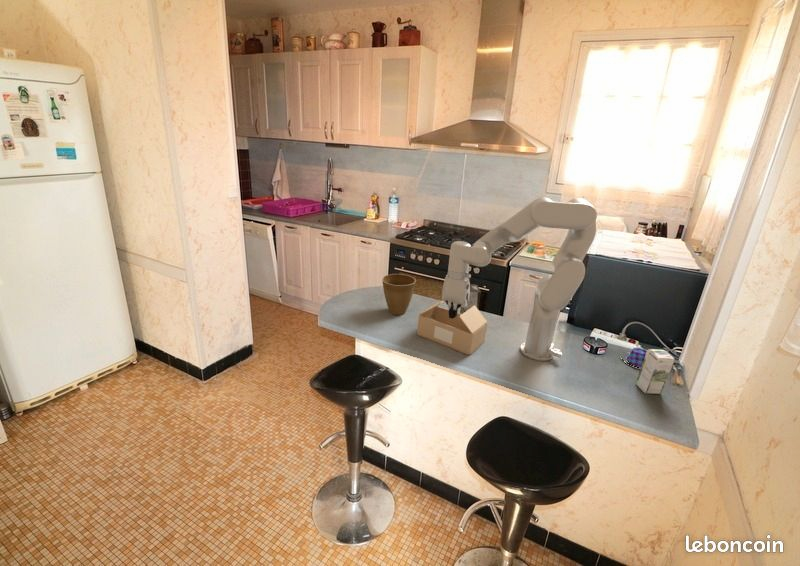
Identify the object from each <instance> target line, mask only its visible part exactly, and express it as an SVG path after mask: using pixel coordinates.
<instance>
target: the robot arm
mask: <svg viewBox="0 0 800 566" xmlns="http://www.w3.org/2000/svg"><path fill="white" fill-rule="evenodd" d="M597 218H598V213H597V209H596V208H595V207H594V205H593V204H591V203H590V202H589V201H588V200H586V199H584V198H581V197H575V198H572V199H570V200H568V201H567V202H563V201H561V202H560V201H553V200H552V199H551V198H548V197H546V196H545V197H544V196H541V197H537V198H536V199H534V200H533V201H531V202H529V204H527V205H525V207H523V208H522V209H520V210H519V211H518V212H516V214H514V215H512V216H511V217H510V218H508V219H507V220H506V221H504V222H503V223H501V224H499V225H498V226H496V227H494V228H493V229H491V230H489V231H488V232H487V233H485V234H484V235H483V236H481V237H480V238H479V239H478V240H476V241H475V242H474V243H473V245H472V246H471V244H470V243H469V242H467V241H463V240H462V241H461V240H457V241H453V242H452V243H451V244H450V249H449V250H450V251H449V259H448V269H447V274H446V275H445V278H444V280H443V284H442V291H441V301H444V302H445V304H446V305H447V307H448V308H447V309H448V310H449V318H451V319H453V318H455V317H456V316H457V313H458V311H459V310H458V309H459V308H460V309H461V307H464V308H465V307H467V302H468V301H469V294H470V284H471V283H470V279H471V277H472V274H470V273H469V272H470V271H469V268H470V265H471V266H475V267H480V268H482V267H486V266H488V265H489V264H490V262H491V261H492V254H493V253H494V252H496V251H497V250H498V249H500V248H502V247H503V246H505V245H507V244H510V243H516V242H519V241H522V240H523V239H525V238H526V237H527V236H528V235H530V234H531V233H533V232H534V231H535V230H537V229H538V228H540V227H542V228H550V229H562V230H568V231H567V235H566V236H565V239H563V241H562V243H561V245H560V247H559V249H558V251H557V253H556V254H555V255H554V257H553V258H552V261H551V269H552V271H553V273H552V274H546V275H544V276H541V278H539V279H538V281H537V282H536V285H535V289H534V295H533V296H534V298H533V303H532V309H531V313H530V318H529V324H528V328H527V333H526V337H525V342H523V343H521V344H520V345H519V346H520V347H519V351H520V352H521V354H522V355H524V356H525V357H527V358H530V359H531V360H535V361H540V362H542V361H543V362H544V361H545V362H547V361H550V360H552V359H553V358H554V357H556V358H559V359H562V356H563V353H562V352H561V350H560V349H559V348H558V349H557V348H555V347H554V346H555V343H553V341H554V337H555V332H556V330H557V329H556V328H557V323H558V320H559V316H560V311H562V310H563V309H565V308H566V306H567V305H568V304H569V303H570V301H571V300H572V298H573V297H574V295H575V293H576V292H577V291H578V289H579V287H580V286H581V284H582V282H583V280H584V279H585V275H586V266H585V264H584V262H583V261H584V258H585V257H586V255H587V253H588V252H589V249H590V248H591V246H592V244H593V242H594V239H595V237H596V231H597V222H596V221H597ZM444 302H443V303H444Z"/></svg>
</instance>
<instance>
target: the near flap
mask: <svg viewBox="0 0 800 566" xmlns="http://www.w3.org/2000/svg"><path fill="white" fill-rule="evenodd" d="M459 317H460V319H461V320H462V321H463V323H464V324H465V325H466V327H467V328H468V329H469V331H470V332H471V333H472V334H473V333H474V332H475V331H476V330H477V329H479V328H480V327H481V326H482V325H483V324H485V323H488V320H487V319H486V317H484V315H483V313H482V312H481V311H480V310H479V308H478V309H477V307H476V306H475V305H474V306H473V307H471V308H470V309H469V310H467V311H466V312H464V313H463V314H461V315H460V316H459Z"/></svg>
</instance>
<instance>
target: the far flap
mask: <svg viewBox="0 0 800 566" xmlns="http://www.w3.org/2000/svg"><path fill="white" fill-rule="evenodd" d="M442 303H444V301H443V300H441V301H439V302H437V303H435V304H434V305H432V306H431V307H429V308H427V309H425V310H423V311H421V312H420V313H419V314H418V316H419V315H420V314H422V313H424V312H426V311H428V310H430V309H432V308H434V307H436V306H440V305H441V304H442Z"/></svg>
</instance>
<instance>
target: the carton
mask: <svg viewBox="0 0 800 566" xmlns="http://www.w3.org/2000/svg"><path fill="white" fill-rule="evenodd" d="M421 313H422V312H421ZM419 314H420V313H419ZM419 314H418V316H417V317H418V319H417V330H416V331H417V332H416V335H417V336H419V337H421V338H424V339H426V340H430V341H432V342H433V343H437V344H438V345H442V346H444V347H447V348H449V349H452V350H454V351H456V352H459V353H462V354H464V355H467V356H471V355H473V353H475V351H477V350H478V349H480V347H481V346H482V345H484V343H485V340H486V334H487V326H488V322H486V323H485V324H483V325H482V326H481V327H480V328H479V329H477V330H476V331H475V332H474V333H473V334H472V333H471V332H470V331H469V329H468V328H467V327H466V325H465V324H464V323H463V321H462V320H461V319H460V317H459V316H460V315H461V314H460V312H457V316H456V317H455V318H453V319H451V318H449V308H446V307H442V306H440V305H438V306H436V307H434V308H432V309H430V310H428V311H426V312H424V313H422V314H420V315H419Z"/></svg>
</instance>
